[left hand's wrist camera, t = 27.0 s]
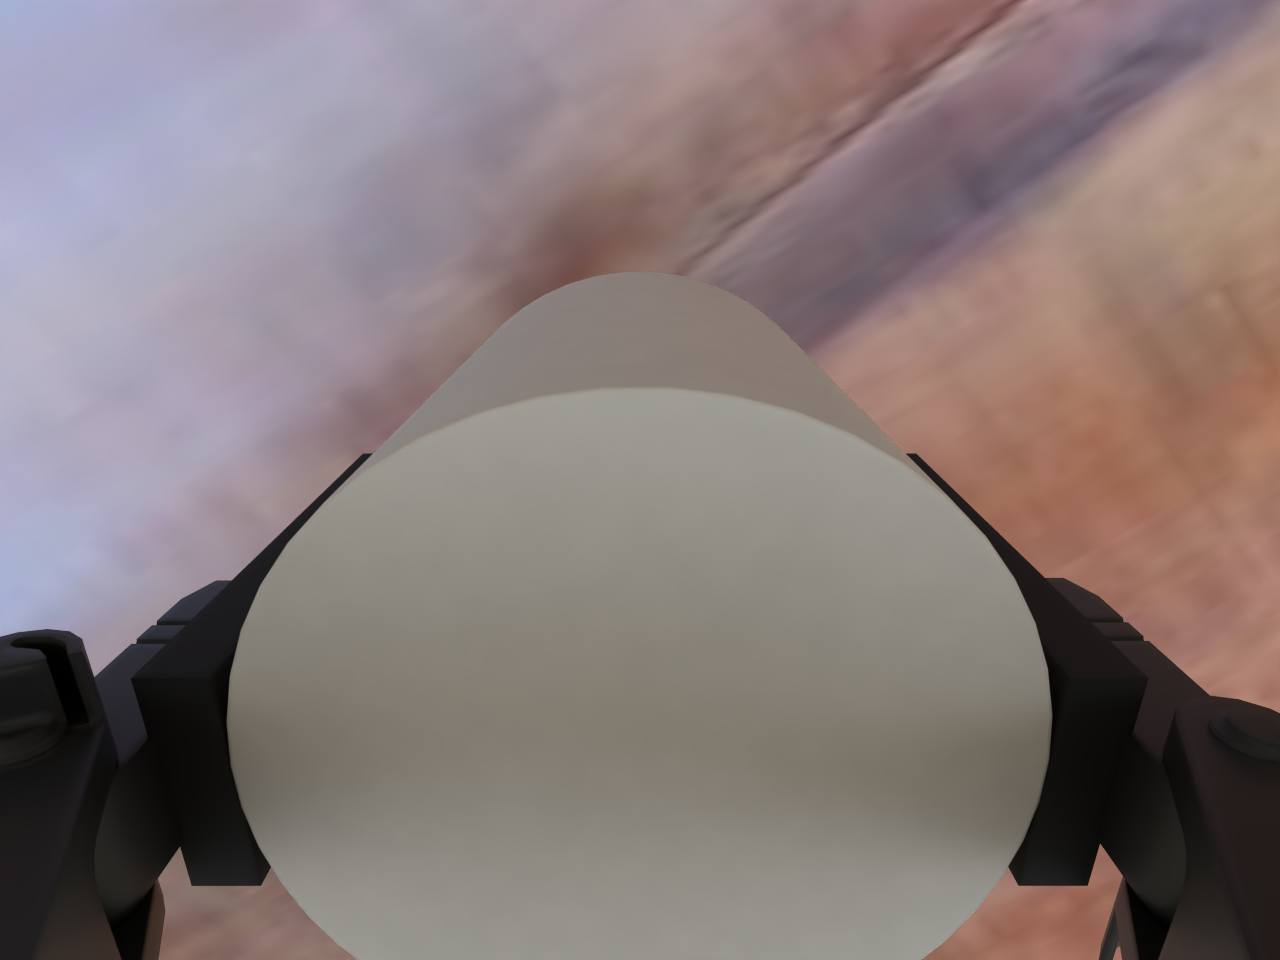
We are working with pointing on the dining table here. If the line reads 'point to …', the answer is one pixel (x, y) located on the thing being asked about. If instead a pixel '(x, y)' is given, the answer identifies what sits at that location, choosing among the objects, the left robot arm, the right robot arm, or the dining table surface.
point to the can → (639, 662)
